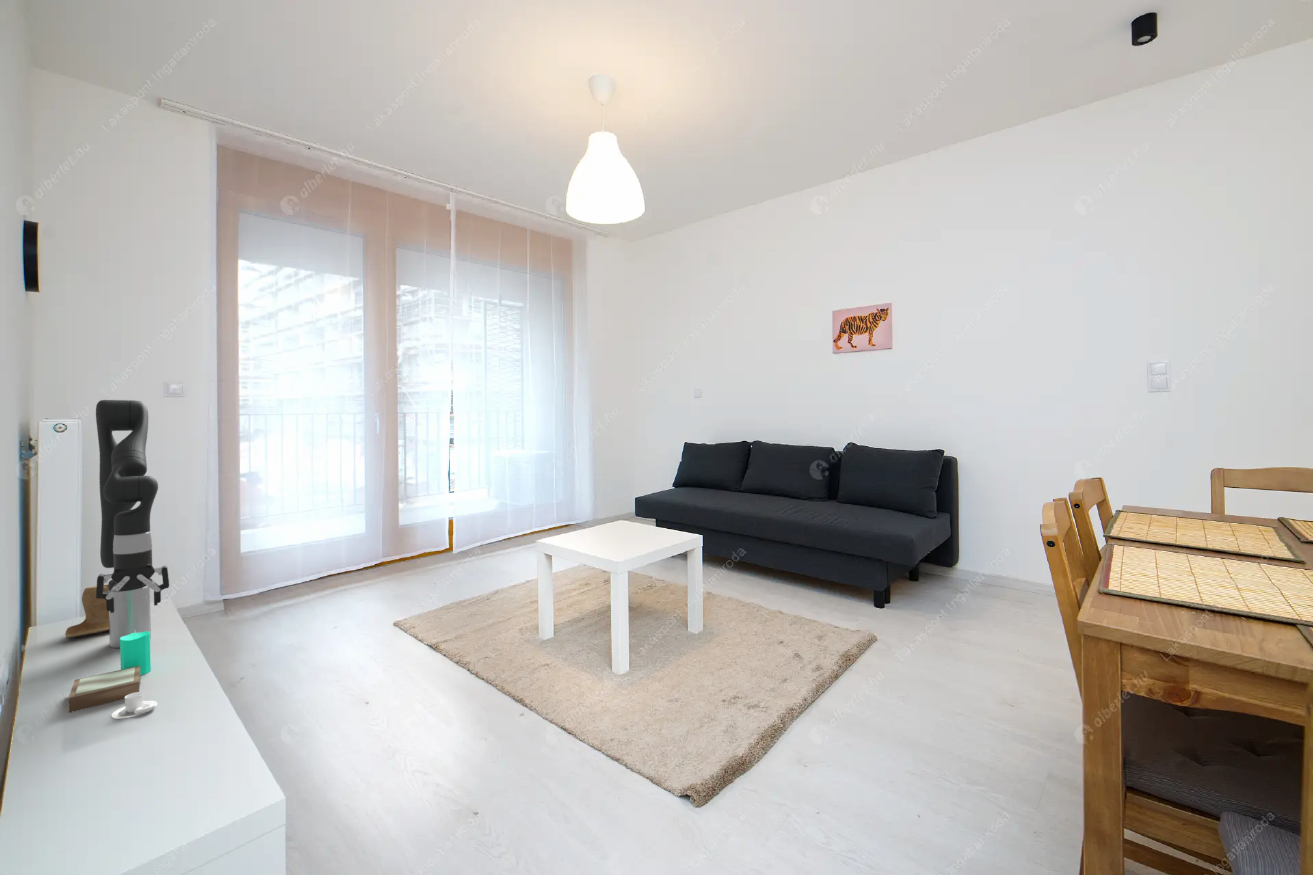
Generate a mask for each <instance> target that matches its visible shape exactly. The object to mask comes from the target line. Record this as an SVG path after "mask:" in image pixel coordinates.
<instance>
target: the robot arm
mask: <svg viewBox="0 0 1313 875" xmlns="http://www.w3.org/2000/svg"><path fill="white" fill-rule="evenodd" d="M95 423H96V430H97V438H98V449H99V450H98V451H99V497H100V498H99V499H100V509H101V510H100V511H101V530H100V532H101V533H100V550H99V551H100V552H99V553H100V554H99V556H100V562H101V565H102V567H103V568H105V569H113V572H112V573H110V574H102V573H100V574H98V575H97V577H96V578H97V579H96V586H97V588H96V598H97V599H100V598H102V599H106V607H107V611H109V631H108V632H109V648H115V649H117V648H119V649H120V638H121V637H123V636H126V635H129V634H131V633H135V632H136V633H141V632H145V631H149V632H150V640H151V639H152V625H151V624H152V622H151V620H152V618H151V617H152V615H151V614H152V613H151V589H152V590H153V606H158V604H159V603H161V602H162V594H161V593H162V591H163V590H165V589H169V587H170V578H169V570H168V565H162V566H160V567H154V566H153V542H152V541H153V540H152V535H151V511H152V507H153V504H154V502H155V501H154V500H155V499H156V496H157V494H158V490H159V484H158V481H157V479H156V478H154V476H151V475H146V473H147V471H148V466H147V456H146V447H147V446H146V445H147V439H148V431H149V410H148V406H147V405H146V403H145V402H143V401H141V400H136V399H135V400H133V399H132V400H131V399H129V400H127V399H101V400H99V401H98V402H97V403H96V406H95ZM121 431H123V432H125V431H127V432H129V434H128V435H127V436H126V437H125V438H123V439H121V440H120V441H119V442H118V443H117V441H116V440H115V438H114V436H113V432H121ZM137 503H139V505H138V506H137V507H135V508H134V506H135V505H136V504H137ZM155 573H157V574H158V576H162V583H161V584H158V583H156V581H155V580H153V579H152V577H153V575H154V574H155ZM110 579H111V580H110ZM105 584H107V585H108V593H103V591H104V585H105Z"/></svg>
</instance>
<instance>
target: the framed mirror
mask: <svg viewBox="0 0 1313 875" xmlns="http://www.w3.org/2000/svg"><path fill="white" fill-rule="evenodd" d="M141 676H142V675H141V674H140V666H136V667H131V668H127V669H122V670H121V669H119V670H114V671H109V672H105V673H101V674H95V675H91V676H87V677H83V678H77V679H74V681H73V684H72V687H71V690H70V693H69V696H68V713H69V712H70V713H73V711H74V712H77V710H78V711H82V710H85V708H86V709H89V708H90V709H91V708H93V707H98V706H102V705H106V704H110V703H114V702H118V701H124V700H125V696H126V695H128V694H131V693H135V692H141V691H140V689H141V678H142V677H141ZM81 709H82V710H81Z"/></svg>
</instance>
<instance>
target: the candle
mask: <svg viewBox="0 0 1313 875" xmlns="http://www.w3.org/2000/svg"><path fill="white" fill-rule="evenodd" d="M119 651H120V656H119V657H120V658H119V659H120V670H122V669H127V668H131V667H136V666H140V674H141V676H143V675H146V674H148V673H149V672H151V670H152V667H151V666H152V662H151V661H152V659H151V658H152V657H151V654H152V653H151V639H150V632H149V631H145V632H141V633H136V632H135V633H131V634H129V635H126V636H123V637H121V638H120V648H119Z"/></svg>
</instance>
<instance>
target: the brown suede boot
mask: <svg viewBox="0 0 1313 875" xmlns="http://www.w3.org/2000/svg"><path fill="white" fill-rule="evenodd" d="M96 588H97V585H93V586H87V587H85V588H84V589H83V592H82V595H81V604H82V606H83V607H82V608H83V610H84V615H85V617H84V618H85V619H84V620H83V621H82V622H80V623H77V624H75V625H71V626H69V627H67V628H66V630H65V633H64V634H65V638H67V639H71V638H79V637H84V636H87V635H93V634H100V633H104V632H107V631H108V632H109V611H107V607H106V599H102V598H100V599H97V598H96ZM103 593H108V584H104V591H103Z"/></svg>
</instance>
